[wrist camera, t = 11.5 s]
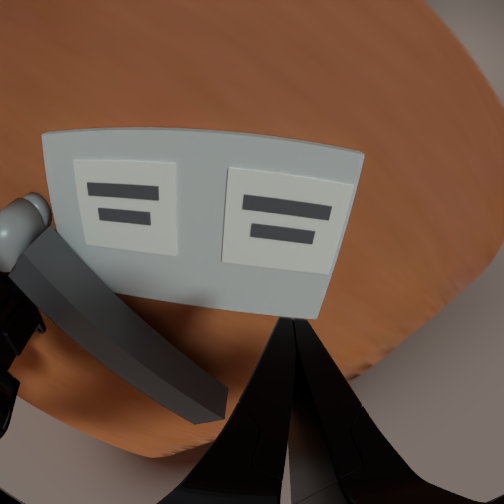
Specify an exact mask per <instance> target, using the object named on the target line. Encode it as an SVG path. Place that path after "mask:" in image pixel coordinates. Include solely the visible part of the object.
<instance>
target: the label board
mask: <svg viewBox="0 0 504 504" xmlns="http://www.w3.org/2000/svg"><path fill="white" fill-rule="evenodd" d="M42 144H43V154H44V162H45V169H46V176H47V183H48V189H49V195H50V200H51V205H52V210H53V215H54V220H55V224H56V229H57V233H58V235H59V236H60V237H61V238H62V239H63V240H64V241H65V243H66V244H67V245H68V246H69V247H70V248H71V249H72V250H73V251H74V252H75V254H76V255H77V256H78V257H79V258H80V259H81V260H82V261H83V262H84V263H85V264H86V265H87V266H88V267H89V268H90V269H91V270H92V271H93V272H94V273H95V275H96V276H97V277H98V278H99V279H100V280H101V281H102V282H103V283H104V284H105V285H106V286H107V287H109V288H110V289H111V290H112V291H113V292H114V293H120V294H125V295H131V296H137V297H142V298H148V299H154V300H161V301H167V302H173V303H180V304H187V305H193V306H201V307H208V308H215V309H223V310H231V311H239V312H247V313H256V314H265V315H275V316H285V317H295V318H307V319H317V316H318V314H319V311H320V308H321V305H322V302H323V299H324V296H325V293H326V290H327V287H328V284H329V281H330V278H331V275H332V272H333V269H334V266H335V263H336V259H337V256H338V253H339V250H340V246H341V243H342V240H343V236H344V233H345V230H346V226H347V223H348V219H349V215H350V212H351V208H352V204H353V201H354V197H355V193H356V189H357V185H358V181H359V177H360V173H361V169H362V165H363V161H364V157H365V155H364V154H363V153H362V152H361V151H357V150H352V149H347V148H342V147H337V146H332V145H326V144H321V143H315V142H309V141H303V140H296V139H290V138H283V137H275V136H268V135H259V134H251V133H241V132H230V131H219V130H205V129H187V128H157V127H121V128H92V129H75V130H62V131H51V132H47V133H44V134H42ZM23 198H25V199H27V200H29V201H30V202H31V203H32V204H33V205H34V206H35V207H36V209H37V210H38V212H39V214H40V216H41V218H42V222H43V231H44V230H45V229H46V228H47V227H49V225H50V224H51V220H52V214H51V210H50V207H49V205H48V203H47V201H46V200H45V199H44V198H43V197H42V196H41V195H40V194H38V193H35V192H31V193H28V194H27V195H26V196H24V197H23Z"/></svg>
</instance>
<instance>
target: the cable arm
mask: <svg viewBox="0 0 504 504" xmlns="http://www.w3.org/2000/svg"><path fill="white" fill-rule="evenodd" d="M12 268H13V269H12ZM11 269H12V270H11ZM10 270H11V272H10V274H9V275H8V276H9V277H10V278H11V279H12V280H13V282H14V283H15V284H16V285H17V286H18V287H19V288H20V289H21V290H22V291H23V292H24V293H25V295H26V296H27V297H28V298H29V299H30V300H31V301H32V302H33V303H34V304H35V305H36V306H37V307H38V308H39V309H40V310H41V311H42V312H43V313H44V314H45V315H46V316H47V317H49V318H50V319H51V320H52V321H53V322H54V323H55V324H56V325H57V326H58V327H59V328H60V329H61V330H63V331H64V332H65V333H66V334H67V335H68V336H69V337H70V338H72V339H73V340H74V341H75V342H76V343H77V344H79V345H80V346H81V347H82V348H83V349H85V350H86V351H87V352H88V353H89V354H91V355H92V356H93V357H94V358H96V359H97V360H98V361H100V362H101V363H102V364H103V365H105V366H106V367H107V368H109V369H110V370H111V371H113V372H114V373H115V374H117V375H118V376H119V377H121V378H122V379H124V380H125V381H126V382H128V383H129V384H131V385H132V386H134V387H135V388H136V389H138V390H139V391H141V392H142V393H144V394H145V395H147V396H148V397H150V398H151V399H153V400H154V401H156V402H158V403H159V404H161V405H162V406H164V407H166V408H167V409H169V410H171V411H172V412H174V413H176V414H177V415H179V416H181V417H182V418H184V419H186V420H188V421H189V422H191V423H193V424H201V423H207V422H213V421H218V420H224V419H225V411H226V403H227V395H228V387H226V386H225V385H223V384H222V383H221V382H219V381H218V380H217V379H215V378H214V377H212V376H211V375H210V374H208V373H207V372H206V371H205V370H203V369H202V368H201V367H199V366H198V365H197V364H195V363H194V362H193V361H192V360H190V359H189V358H188V357H187V356H185V355H184V354H183V353H182V352H180V351H179V350H178V349H177V348H175V347H174V346H173V345H172V344H171V343H169V342H168V341H167V340H166V339H165V338H163V337H162V336H161V335H160V334H159V333H158V332H156V331H155V330H154V329H153V328H152V327H151V326H149V325H148V324H147V323H146V322H145V321H144V320H143V319H142V318H140V317H139V316H138V315H137V314H136V313H135V312H134V311H133V310H132V309H131V308H130V307H128V306H127V305H126V304H125V303H124V302H123V301H122V300H121V299H120V298H119V297H118V296H117V295H116V294H115V293H114V292H113V291H112V290H111V289H110V288H109V287H107V286H106V285H105V284H104V283H103V282H102V281H101V280H100V279H99V278H98V277H97V276H96V275H95V273H94V272H93V271H92V270H91V269H90V268H89V267H88V266H87V265H86V264H85V263H84V262H83V261H82V260H81V259H80V258H79V257H78V256H77V255H76V254H75V252H74V251H73V250H72V249H71V248H70V247H69V246H68V245H67V244H66V243H65V241H64V240H63V239H62V238H61V237H60V236H59V235H58V233H57V232H56V231H55V230H54V229H53V228H52V226H51V225H50V226H49V227H48V228H47V229H46V230H45V231H44V232H43V222H42V218H41V216H40V214H39V212H38V210H37V209H36V207H35V206H34V205H33V204H32V203H31V202H30V201H29V200H27V199H25V198H17V199H15V200H14V201H12V202H11V203H10V204H8V205H7V206H6V207H5V208H3V209H2V210H1V211H0V271H2V272H9V271H10Z"/></svg>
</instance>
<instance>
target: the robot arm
mask: <svg viewBox="0 0 504 504" xmlns="http://www.w3.org/2000/svg"><path fill="white" fill-rule="evenodd" d="M9 274H10V273H9V272H2V271H0V438H1V437H2V436H3V435H4V434H5V432H6V431H7V429H8V426H9V424H10V420H11V416H12V411H13V407H14V403H15V399H16V396H17V392H18V389H19V385H20V382H19V381H18V380H17V379H16V378H14V377H13V376H12V375H11V374H10V373H9V372H8V369H9V368H10V366H11V364H12V362H13V361H14V359H15V357H16V356H19V355H20V354H21V352H22V351H23V349H24V347H25V346H26V344H27V342H28V341H29V339H30V337H31V336H32V334H33V333H34V331H35V332H38V333H41V334H44V332H45V331H46V329H45V326H44V324H43V322H42V320H41V318H40V316H39V314H38V312H37V310H36V307H35V305H34V303H33V302H32V301H31V300H30V299H29V298H28V297H27V296H26V295H25V293H24V292H23V291H22V290H21V289H20V288H19V287H18V286H17V285H16V284H15V283H14V282H13V280H12V279H11V278H10V277H9V276H8V275H9ZM361 406H362V404H361V402H360V401H359V399H358V398H357V396H356V395H355V393H354V391H353V390H352V389H351V387H350V385H349V384H348V382H347V381H346V379H345V377H344V376H343V374H342V373H341V371H340V370H339V368H338V367H337V365H336V364H335V362H334V361H333V359H332V357H331V356H330V354H329V353H328V351H327V350H326V348H325V347H324V345H323V344H322V342H321V341H320V339H319V338H318V336H317V334H316V333H315V331H314V330H313V328H312V327H311V325H310V324H309V322H308V321H307V320H306V319H298V318H294V319H293V320H292V318H287V317H279V318H278V320H277V322H276V325H275V327H274V329H273V331H272V333H271V335H270V338H269V340H268V342H267V344H266V346H265V348H264V350H263V352H262V354H261V357H260V359H259V361H258V363H257V365H256V367H255V369H254V371H253V373H252V375H251V377H250V379H249V381H248V383H247V385H246V387H245V389H244V391H243V393H242V395H241V397H240V399H239V402H238V403H237V405H236V407H235V409H234V411H233V413H232V414H231V416H230V418H229V420H228V421H227V423H226V425H225V427H224V428H223V430H222V431H221V432H220V434H219V435H218V437H217V438H216V440H215V441H214V442H213V444H212V445H211V446H210V448H209V449H208V450H207V451H206V453H205V454H204V456H203V457H202V458H201V459H200V461H199V462H198V463H197V464H196V465H195V467H194V468H193V469H192V470H191V472H190V473H189V474H188V475H187V477H185V479H184V480H183V481H182V482H181V483H180V484H179V485H178V486H177V487H176V488H175V489H174V490H173V491H172V492H170V493H169V494H168V495H167V496H166V497H164V498H163V499H162V500H161V501H159V502H158V503H157V504H280V497H281V487H282V480H283V474H284V466H285V458H286V451H287V443H288V448H289V466H290V484H291V504H504V495H502V496H499V497H497V498H495V499H493V500H491V501H488V502H486V503H484V502H477V501H473V500H471V499H468V498H465V497H463V496H460V495H457V494H455V493H452V492H450V491H447V490H445V489H442V488H440V487H437V486H435V485H433V484H430V483H428V482H426V481H425V480H423V479H422V478H420V477H419V476H418V475H417V474H416V473H415V472H414V471H413V470H412V469H411V468H410V467H409V466H408V465H407V463H406V462H405V461H404V460H403V459H402V457H401V456H400V455H399V454H398V453H397V451H396V450H395V449H394V448H393V447H392V446H391V444H390V443H389V442H388V441H387V439H386V438H385V437H384V435H382V433H381V432H380V430H379V429H378V428H377V426H376V425H375V423H374V422H373V421H372V419H371V418H370V416H369V414H368V413H367V411H366V410H365V408H364V407H363V406H362V407H361ZM0 504H25V503H23V502H22V501H20V500H18V499H17V498H15V497H14V496H12V495H11V494H9V493H8V492H6V491H5V490H3V489H2V488H0Z"/></svg>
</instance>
